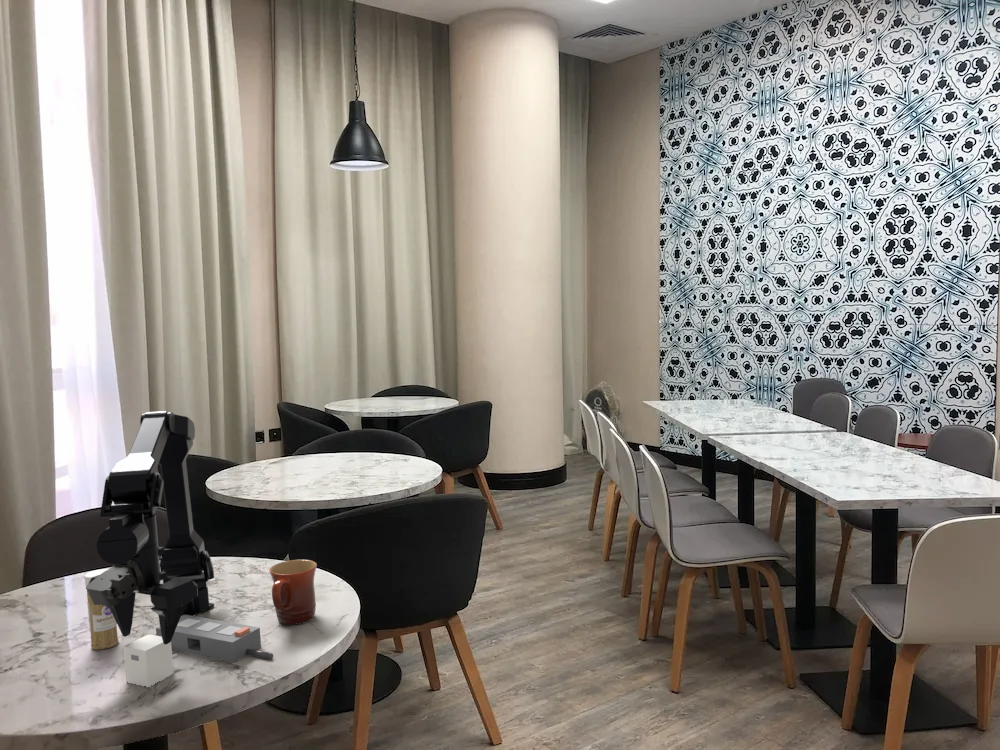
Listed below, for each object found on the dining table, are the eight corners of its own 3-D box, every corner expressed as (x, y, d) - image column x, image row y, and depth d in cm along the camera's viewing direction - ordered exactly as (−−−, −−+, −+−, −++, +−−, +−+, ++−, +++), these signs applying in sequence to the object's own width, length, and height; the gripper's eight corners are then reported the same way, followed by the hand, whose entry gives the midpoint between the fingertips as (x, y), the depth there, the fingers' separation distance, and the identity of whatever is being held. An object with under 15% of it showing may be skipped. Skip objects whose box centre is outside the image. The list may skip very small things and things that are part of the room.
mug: (286, 609, 157) (282, 558, 156) (327, 611, 155) (324, 559, 154) (255, 634, 145) (251, 579, 144) (300, 636, 143) (296, 581, 142)
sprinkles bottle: (105, 651, 140) (98, 577, 139) (84, 649, 142) (78, 576, 140) (124, 641, 145) (118, 569, 143) (104, 638, 146) (98, 567, 145)
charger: (125, 682, 128) (122, 646, 127) (163, 663, 134) (160, 628, 134) (148, 687, 126) (145, 651, 125) (185, 667, 132) (182, 632, 132)
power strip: (157, 646, 141) (155, 624, 141) (186, 632, 147) (184, 611, 147) (259, 667, 131) (257, 643, 131) (285, 651, 137) (284, 628, 137)
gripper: (53, 554, 124) (62, 651, 125) (137, 566, 116) (146, 669, 117) (114, 534, 134) (122, 624, 135) (196, 544, 126) (204, 640, 127)
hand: (146, 639), depth 128 cm, fingers open, 9 cm apart
